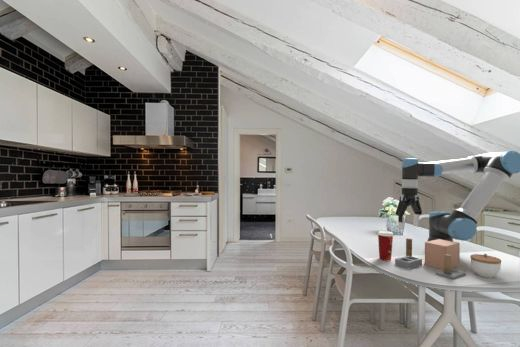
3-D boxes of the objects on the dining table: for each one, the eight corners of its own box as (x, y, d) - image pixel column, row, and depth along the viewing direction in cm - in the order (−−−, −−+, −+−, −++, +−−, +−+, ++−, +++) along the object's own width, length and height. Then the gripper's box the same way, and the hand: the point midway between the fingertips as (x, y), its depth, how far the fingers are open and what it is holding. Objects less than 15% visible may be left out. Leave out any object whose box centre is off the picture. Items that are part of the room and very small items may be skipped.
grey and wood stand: (448, 270, 131) (448, 250, 131) (465, 274, 125) (465, 254, 125) (435, 274, 125) (436, 254, 125) (453, 279, 120) (453, 258, 119)
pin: (407, 256, 152) (408, 238, 152) (412, 258, 150) (413, 239, 150) (404, 257, 150) (405, 238, 150) (409, 258, 148) (410, 239, 148)
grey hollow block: (408, 261, 144) (408, 255, 144) (421, 265, 138) (422, 259, 138) (395, 264, 138) (395, 258, 138) (408, 269, 132) (408, 262, 132)
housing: (439, 260, 146) (439, 239, 146) (459, 265, 138) (459, 242, 138) (424, 264, 139) (424, 242, 139) (445, 270, 131) (445, 246, 131)
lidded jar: (507, 280, 119) (507, 258, 119) (478, 278, 121) (479, 256, 121) (491, 271, 130) (491, 251, 130) (465, 270, 131) (465, 250, 131)
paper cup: (395, 261, 143) (395, 234, 143) (378, 260, 145) (379, 233, 144) (391, 257, 151) (391, 231, 151) (375, 256, 152) (376, 230, 152)
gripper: (415, 186, 160) (415, 224, 160) (388, 187, 147) (387, 228, 147) (429, 187, 153) (428, 226, 153) (402, 188, 140) (401, 230, 140)
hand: (408, 227), depth 150 cm, fingers open, 13 cm apart
